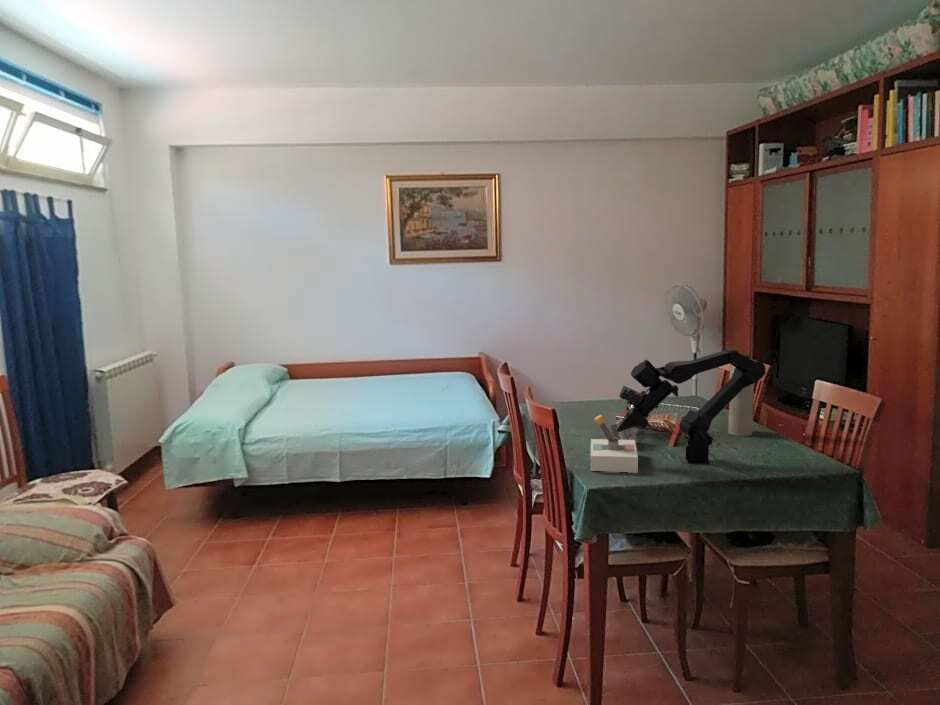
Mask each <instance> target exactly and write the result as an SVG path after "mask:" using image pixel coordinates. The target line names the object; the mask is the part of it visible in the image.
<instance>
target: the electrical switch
mask: <svg viewBox="0 0 940 705" xmlns="http://www.w3.org/2000/svg"><path fill="white" fill-rule="evenodd" d="M622 420H623V418H622V419H619V420H618V421H615V422H613V423H612V424H610V429H611V434H612V436H613V437H614V438H618V440H635V444H636V443H637V442H638V439H637V435H636V432H635V428H634V427H632V428H629V429H626V430H623V431H621V432H618V431H617V428H618V426H619V425H620V423H621V421H622Z"/></svg>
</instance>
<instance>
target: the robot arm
mask: <svg viewBox="0 0 940 705" xmlns="http://www.w3.org/2000/svg"><path fill="white" fill-rule="evenodd" d="M743 355H744V354H742V353H740V352H739V351H737V350H734V349H732V348H725V349H723V350H720V351H718V352H715V353H711V354H708V355H704V356H701V357H699V358H698V357H697V358H694V359H691V360H678V361H677V360H676V361H669V362H667V363H666V364H665V365H664V366H661V367H655V366H654V365H653V364H652V362H650V361H649V360H648V359H644V360H643V361H641V362H640V363H638V364H636V365H635V366H634V367H633V369H632V370H631V371H630V376H631V377H632V378H633V379H634V380H635V381H637V383H639V384H640V385H641V386H642V387H643V388H647V389H646V390H642V391H641V392H639V391H637V390H634V389H632V388H631V387H628V386H625V385H623V386H622V388H621V391H620V392H619V394H618V395H619V398H620V399H622V400H625V401H626V404H627V405H630V406H629V407H628V406H627V405H626V407H625V415H624V417H623V418H622V419H623V420H622V419H621V420H622V421H621V423H620V425H619V426H618V428H617V431H618V432H621V431H623V430H626V429H629V428H632V427H638V426H639V427H640V428H641V429H643V430H644V429H645V428H647V427H648V426H649V419H648V418H649V417H650V414H651V413H653V411H654V410H655V409H656V410H658V408H659V407H660V404H661V403H663V401H665V399H666V398H668V397H669V395H671V394H673V395H674V396H675V397H679V387H678V384H683V383H685V382H687V381H690V380H691V379H693V377H695V376H696V375H698V374H700V373H701V374H702V373H704V372H706V371H710V370H714V369H717V368H720V367H723V366H726V365H731V366H732V365H733V366H734V367H736V368H735V369H734V372H733V376H732V378H731V379H730V378H729V380H727V381H726V383H725V384H724V385H723V386H722V387H720V389H719V390H718V391H717V392H716V393H715V394H714V395H713V396H712V397H711V398H710V399H709V400H708V401H707V402H706V403H705V404H704V405H703V406H702V407H701V408H700V409H699V410H697V411H695V410H692V409H690V410H688V411H687V413H686V414H685V415H684V416H682V417H681V418H680V419H681V421H680V422H679V431H680V433H681V434H683V436H684V439H685V440H686V444H685V445H684V458H685V460H686V462H687V464H695V465H696V464H700V465H701V464H702V465H708V464H709V465H710V459H709V458H710V457H709V454H710V453H709V452H710V448H709V447H710V446H712V443H713V440H714V438H713V437H712V436H711V435H710V434H709V432H708V431H709V430H710V427H711V424H712V421H714V419H715V418H716V417H717V416H718V415H719V414H720V413H721V412H722V411H723V410H724V409H725V408H726V407H727V405H728V404H729V403H730V402H731V401H732V400H733V399H734V398H735V397H736V396H737V395H738V394H739V393H740V391H741V390H742V389H744V388H745V387H747V386H749V385H752V384H754V385H755V384H756V383H757V382H758V381H761V379H763V378H764V377H765V375H766V365H765V364H764V363H763V362H762V361H759V360H756V359H752V358H751V357H750V358H747V357H745V356H743ZM662 379H663V380H662ZM671 382H672V383H675V385H673V384H671Z"/></svg>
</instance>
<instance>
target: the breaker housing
mask: <svg viewBox="0 0 940 705" xmlns="http://www.w3.org/2000/svg"><path fill="white" fill-rule="evenodd" d="M614 439H616V441H617V442H609V441H608V439H606V438H604V439H603V438H600V439H599V438H591V439H590V472H591V471H608V472H607V473H610V472H609V471H612V472H611V473H620V472H628V473H627V474H629V473H630V474H638V473H639V466H638V465H639V456H638V450H637V444H636V443H635V440H618V438H614Z"/></svg>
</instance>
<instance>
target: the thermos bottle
mask: <svg viewBox="0 0 940 705" xmlns="http://www.w3.org/2000/svg"><path fill="white" fill-rule="evenodd" d="M742 355H743V356H745V357H747V358H750V359H751V355H749V354H742ZM735 368H736V367H734V366H733V365H731V370H730V371H729V380H730V379H731V378H732V376H733V372H734V369H735ZM754 392H755V383H754V384H752V385H749V386H747V387H745V388H744V389H742V390H741V391H740V393H739V394H738V395H737V396H736V397H735V398H734V399H733V400H732V401H731V402H730V403H729V406H728V409H729V410H728V431H727V432H728V434H730V435H733V436H737V437H738V436H739V437H748V436H751V435H753V428H754V427H753V426H754V425H753V424H754V420H753V419H754V397H755V396H754V394H755V393H754Z"/></svg>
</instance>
